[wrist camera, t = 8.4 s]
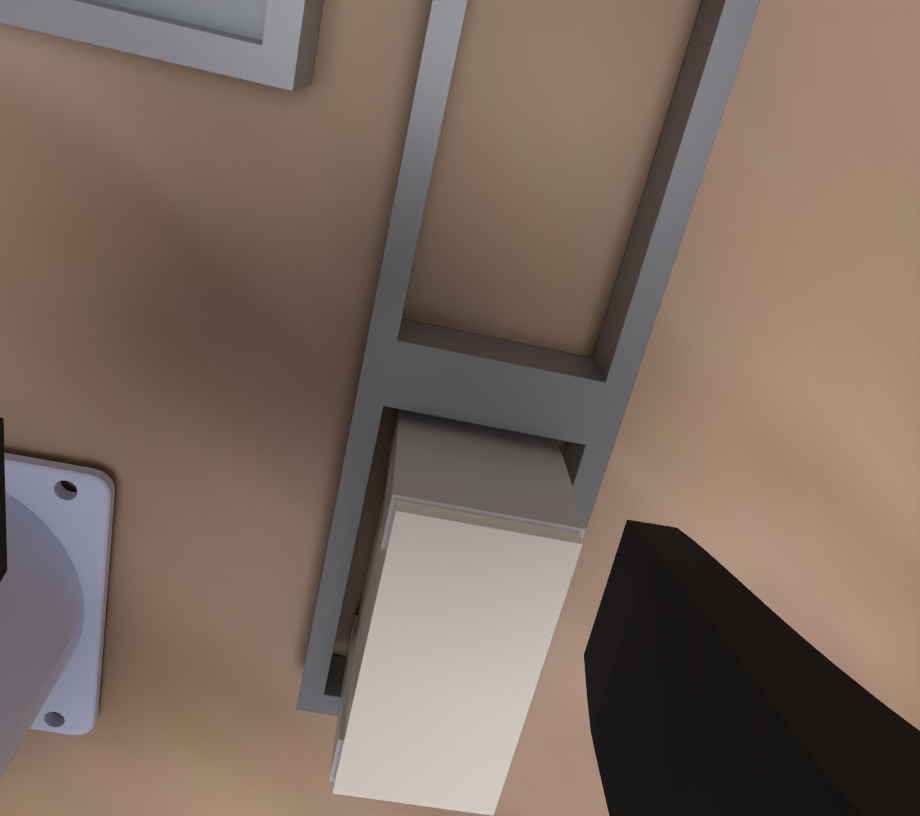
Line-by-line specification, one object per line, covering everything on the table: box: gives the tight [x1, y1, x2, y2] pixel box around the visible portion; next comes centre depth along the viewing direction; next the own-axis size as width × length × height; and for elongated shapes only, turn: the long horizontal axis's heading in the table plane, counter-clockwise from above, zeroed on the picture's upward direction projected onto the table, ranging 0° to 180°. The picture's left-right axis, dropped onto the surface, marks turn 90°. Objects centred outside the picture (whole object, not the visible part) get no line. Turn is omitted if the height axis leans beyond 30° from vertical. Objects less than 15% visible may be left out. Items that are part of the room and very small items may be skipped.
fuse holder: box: [296, 0, 760, 716], centre depth 17 cm, size 6×28×2 cm, turn 167°
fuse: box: [329, 409, 586, 816], centre depth 19 cm, size 4×7×5 cm, turn 167°
